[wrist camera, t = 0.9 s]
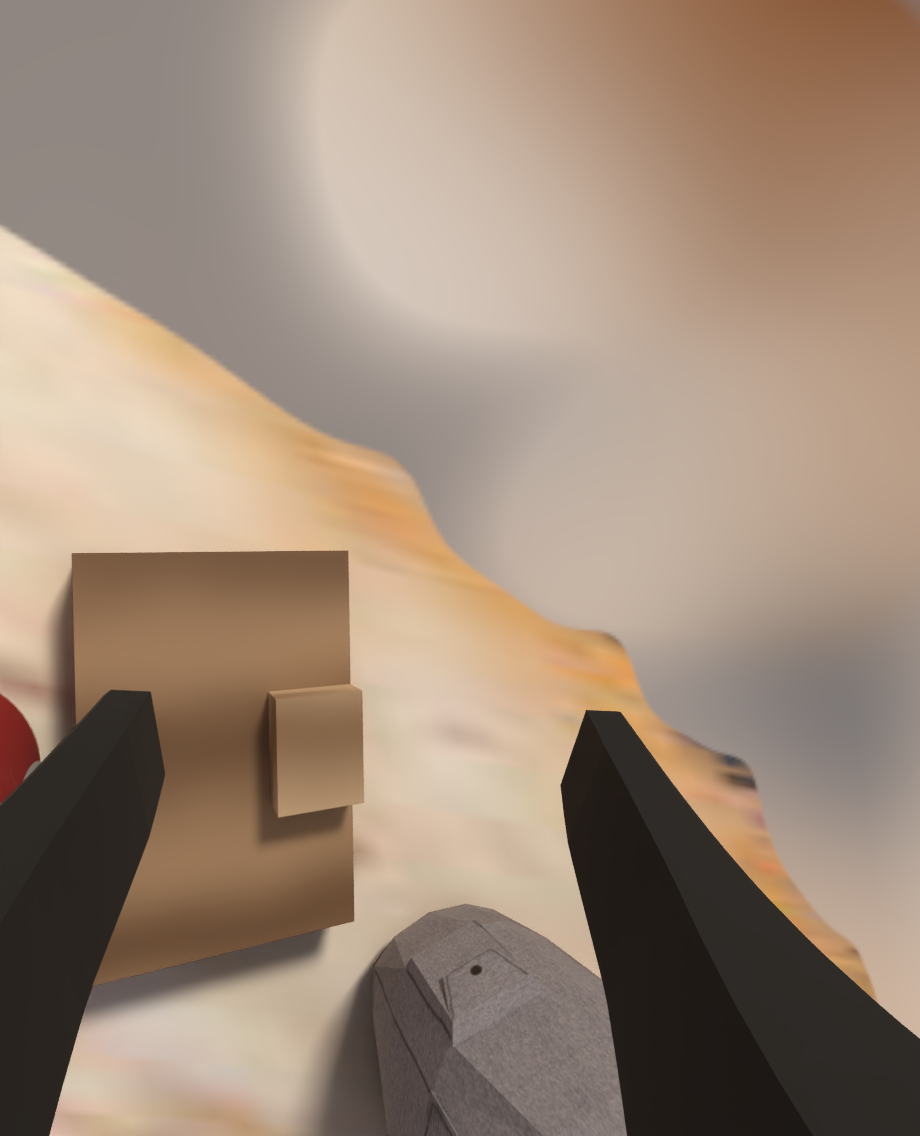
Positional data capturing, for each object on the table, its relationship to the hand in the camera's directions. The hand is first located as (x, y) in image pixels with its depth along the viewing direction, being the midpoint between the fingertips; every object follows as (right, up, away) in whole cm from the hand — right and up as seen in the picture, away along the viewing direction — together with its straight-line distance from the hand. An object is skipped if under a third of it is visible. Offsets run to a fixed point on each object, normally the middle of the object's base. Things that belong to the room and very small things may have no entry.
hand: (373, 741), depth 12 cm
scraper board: (-8, -3, +15) cm, 17 cm away
